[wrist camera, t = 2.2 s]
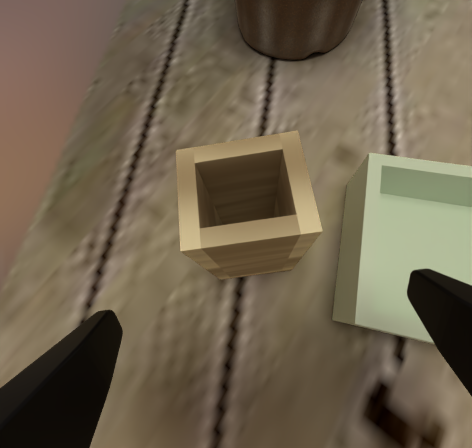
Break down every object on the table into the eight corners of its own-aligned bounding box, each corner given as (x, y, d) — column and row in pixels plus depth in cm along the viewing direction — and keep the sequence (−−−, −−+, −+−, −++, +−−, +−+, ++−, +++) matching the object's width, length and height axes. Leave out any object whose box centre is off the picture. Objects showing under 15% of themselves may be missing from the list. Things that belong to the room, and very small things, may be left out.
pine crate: (291, 270, 19) (322, 231, 9) (220, 279, 19) (180, 251, 10) (280, 213, 20) (297, 130, 11) (215, 223, 20) (176, 150, 11)
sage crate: (506, 362, 16) (598, 382, 11) (331, 320, 17) (354, 323, 13) (494, 207, 19) (562, 178, 14) (346, 185, 20) (369, 152, 16)
